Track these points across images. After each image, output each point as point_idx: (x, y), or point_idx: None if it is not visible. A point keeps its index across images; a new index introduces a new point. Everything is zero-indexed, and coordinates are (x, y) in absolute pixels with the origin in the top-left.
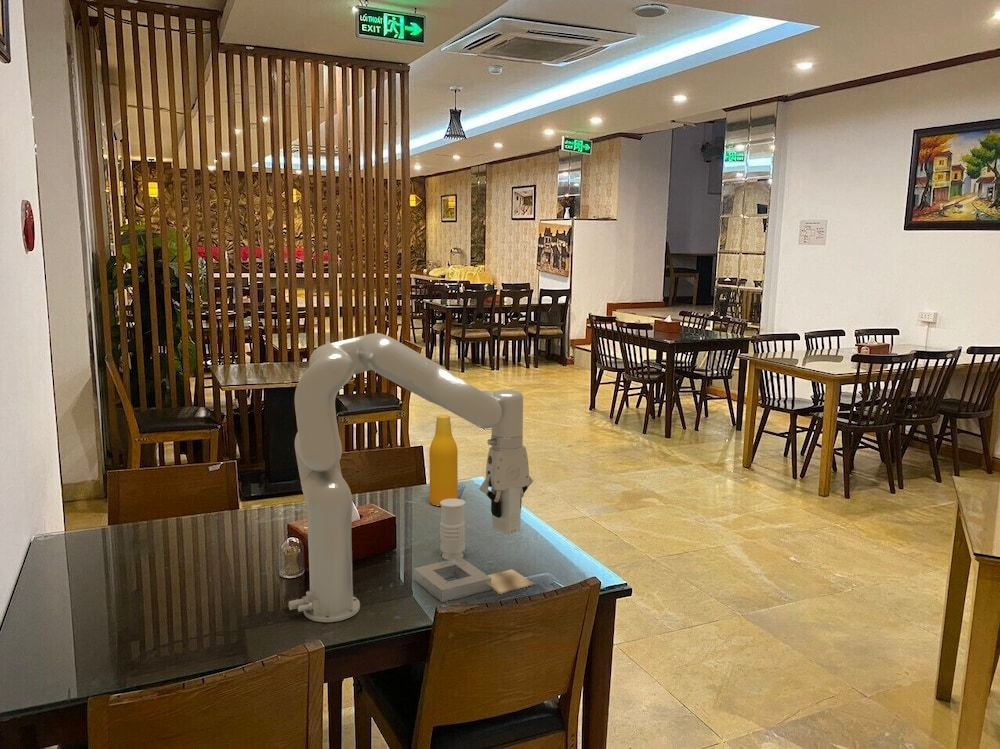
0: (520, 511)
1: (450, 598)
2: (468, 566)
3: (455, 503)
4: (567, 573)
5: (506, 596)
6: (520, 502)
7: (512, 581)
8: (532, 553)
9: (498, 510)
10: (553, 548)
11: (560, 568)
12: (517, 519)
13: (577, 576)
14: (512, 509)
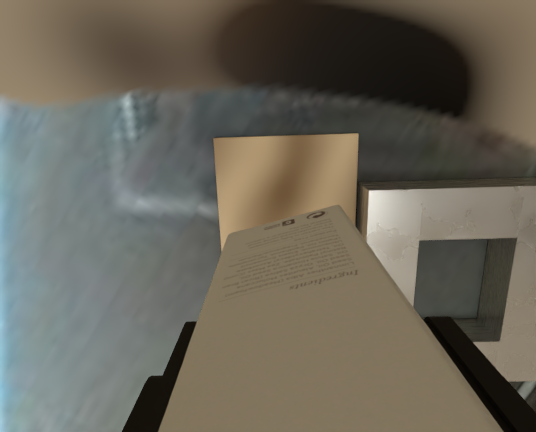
0: (187, 328)
1: (519, 178)
2: None
3: None
4: (58, 166)
5: (343, 110)
6: (156, 407)
7: (272, 188)
8: (95, 350)
9: (488, 369)
10: (13, 351)
11: (62, 212)
12: (255, 260)
13: (36, 126)
14: (343, 301)
